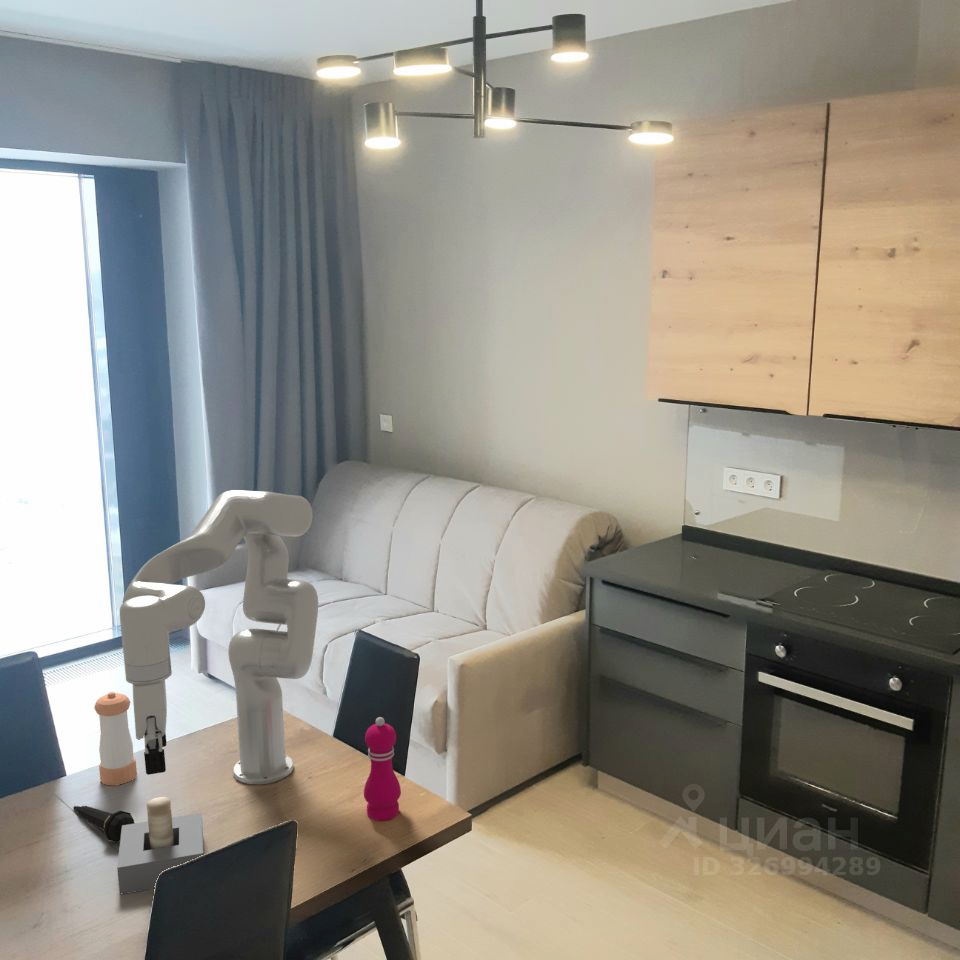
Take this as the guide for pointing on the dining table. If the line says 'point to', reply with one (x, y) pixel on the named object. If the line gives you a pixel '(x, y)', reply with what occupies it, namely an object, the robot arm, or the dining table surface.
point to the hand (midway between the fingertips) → (156, 759)
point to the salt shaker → (115, 740)
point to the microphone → (106, 820)
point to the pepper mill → (381, 773)
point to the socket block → (156, 852)
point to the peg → (160, 823)
